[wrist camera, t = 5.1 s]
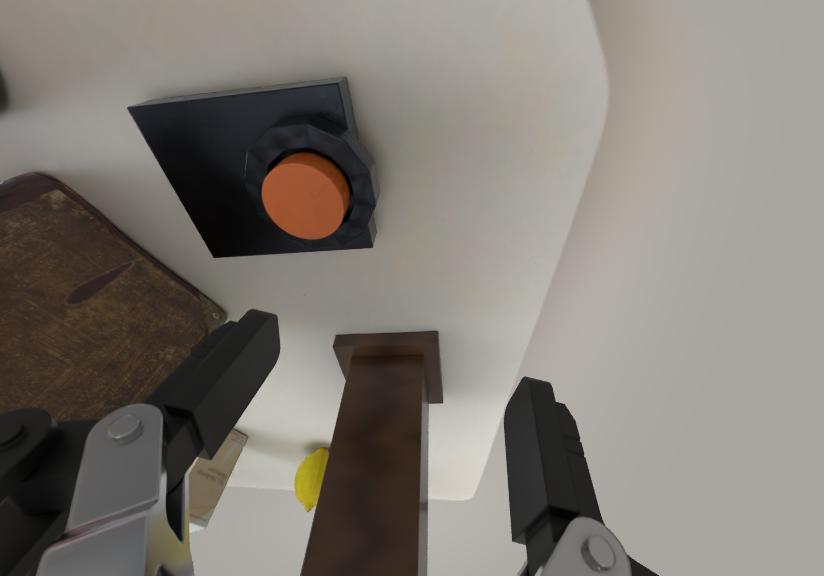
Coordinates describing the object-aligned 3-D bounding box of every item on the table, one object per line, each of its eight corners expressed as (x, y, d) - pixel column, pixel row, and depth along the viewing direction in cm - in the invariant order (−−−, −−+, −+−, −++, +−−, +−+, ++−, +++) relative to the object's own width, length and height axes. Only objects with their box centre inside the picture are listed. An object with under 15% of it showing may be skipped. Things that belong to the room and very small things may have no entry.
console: (367, 74, 18) (353, 85, 15) (392, 231, 25) (386, 262, 22) (151, 99, 20) (100, 115, 17) (227, 242, 26) (200, 273, 23)
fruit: (314, 458, 50) (298, 520, 44) (297, 441, 47) (277, 505, 41) (348, 456, 49) (336, 519, 43) (333, 438, 46) (318, 503, 40)
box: (249, 436, 47) (208, 530, 38) (232, 443, 49) (189, 535, 40) (216, 419, 44) (164, 516, 36) (199, 428, 46) (146, 522, 38)
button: (339, 148, 18) (332, 159, 16) (357, 222, 20) (351, 237, 19) (261, 155, 18) (247, 167, 17) (288, 227, 21) (278, 242, 19)
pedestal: (438, 331, 31) (461, 1499, 7) (442, 391, 38) (463, 1107, 13) (336, 335, 32) (27, 1358, 8) (357, 393, 39) (225, 1059, 14)
